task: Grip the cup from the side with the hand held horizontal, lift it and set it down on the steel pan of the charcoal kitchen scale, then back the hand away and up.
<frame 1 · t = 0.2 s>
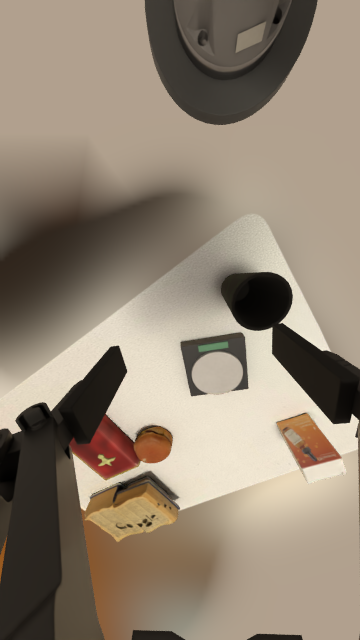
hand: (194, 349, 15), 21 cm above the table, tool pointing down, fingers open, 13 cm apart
cup: (235, 288, 33), on the table
scale: (214, 362, 39), on the table
hardcover book: (103, 434, 48), on the table
small box: (293, 423, 45), on the table
burger: (154, 436, 47), on the table
book: (135, 495, 57), on the table
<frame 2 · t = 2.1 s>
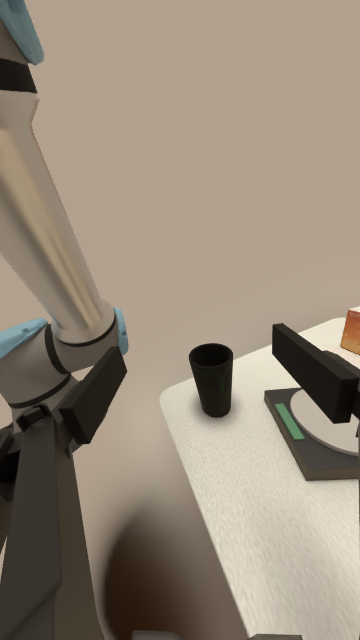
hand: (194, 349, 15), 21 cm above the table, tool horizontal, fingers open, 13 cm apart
cup: (216, 405, 34), on the table
scale: (323, 428, 27), on the table
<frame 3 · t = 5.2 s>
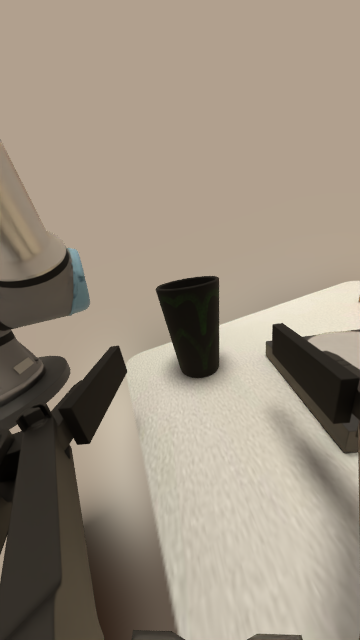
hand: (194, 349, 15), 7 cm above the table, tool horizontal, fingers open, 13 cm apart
cup: (199, 366, 25), on the table
scale: (357, 381, 18), on the table
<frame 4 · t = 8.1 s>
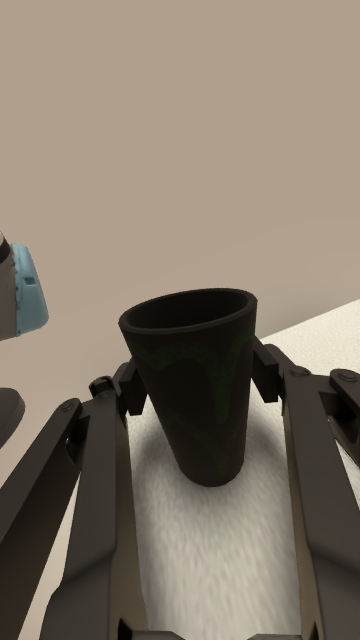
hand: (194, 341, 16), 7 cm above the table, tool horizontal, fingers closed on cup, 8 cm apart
cup: (208, 445, 14), on the table, touching gripper
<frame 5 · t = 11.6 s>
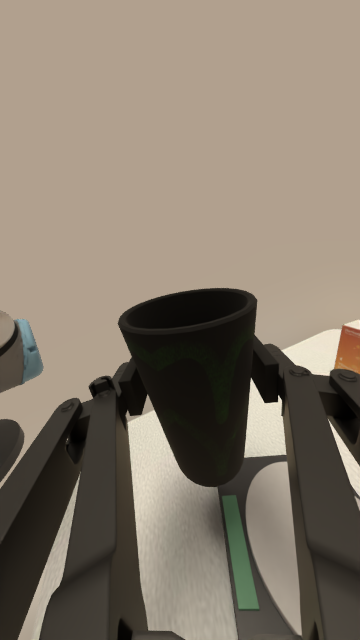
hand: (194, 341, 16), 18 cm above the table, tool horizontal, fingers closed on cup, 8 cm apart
cup: (208, 445, 14), point 11 cm above the table, touching gripper
scale: (302, 553, 15), on the table
when the fingers open (10 cm above the table, at t = 15.1 s): cup stays where it is, resting on scale.
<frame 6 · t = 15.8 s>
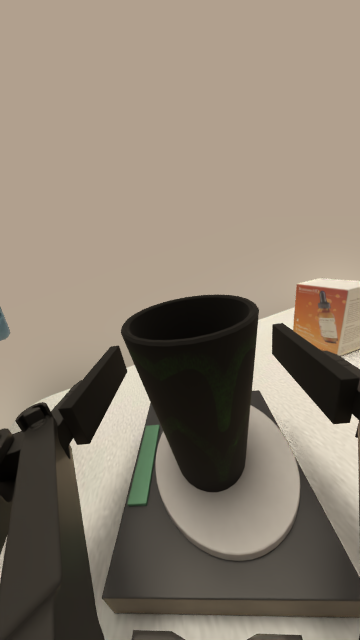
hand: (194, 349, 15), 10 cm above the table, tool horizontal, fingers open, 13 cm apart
cup: (209, 450, 14), point 3 cm above the table, touching scale
scale: (212, 471, 15), on the table
small box: (324, 343, 30), on the table
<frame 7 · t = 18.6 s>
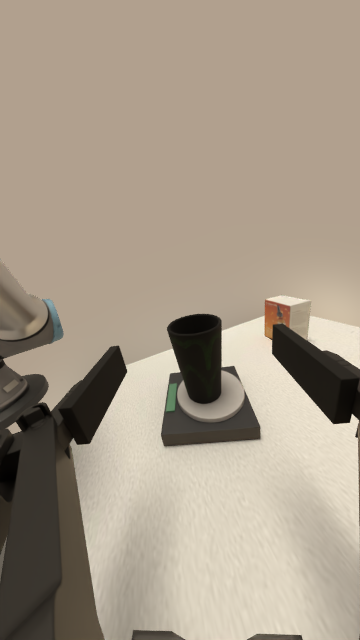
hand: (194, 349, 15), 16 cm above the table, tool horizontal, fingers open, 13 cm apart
cup: (204, 391, 28), point 3 cm above the table, touching scale
scale: (206, 404, 29), on the table
small box: (284, 339, 44), on the table
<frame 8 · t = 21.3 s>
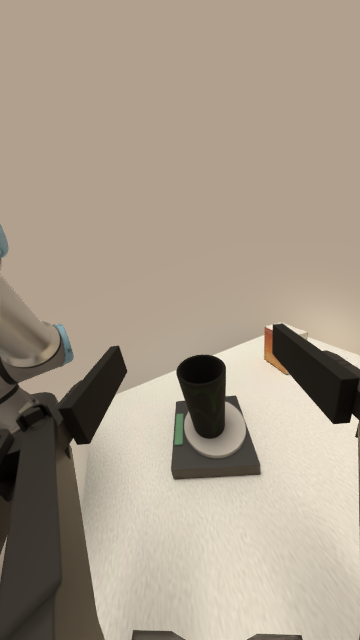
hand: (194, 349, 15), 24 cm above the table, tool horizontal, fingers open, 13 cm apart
cup: (209, 424, 31), point 3 cm above the table, touching scale
scale: (210, 434, 32), on the table
small box: (283, 364, 47), on the table
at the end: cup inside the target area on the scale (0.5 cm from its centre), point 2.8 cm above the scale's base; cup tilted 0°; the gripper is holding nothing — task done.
